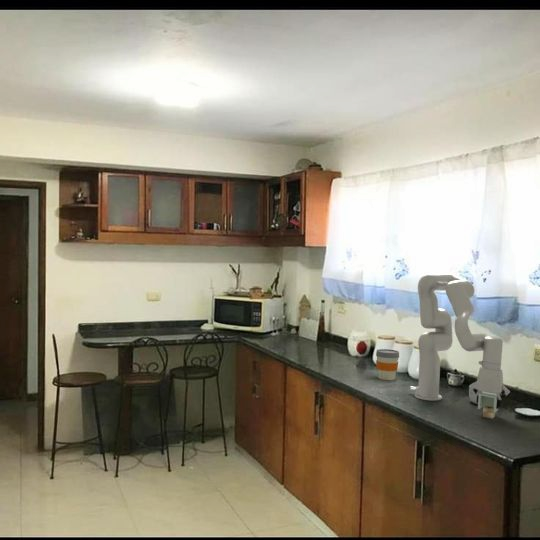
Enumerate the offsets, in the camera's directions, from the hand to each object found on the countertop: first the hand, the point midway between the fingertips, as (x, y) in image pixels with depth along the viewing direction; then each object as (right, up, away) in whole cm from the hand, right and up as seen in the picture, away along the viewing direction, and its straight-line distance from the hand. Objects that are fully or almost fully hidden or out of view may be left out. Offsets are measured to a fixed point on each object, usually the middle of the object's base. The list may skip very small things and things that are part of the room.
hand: (488, 406), depth 248 cm
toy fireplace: (0, -1, 0) cm, 1 cm away
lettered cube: (0, -4, -1) cm, 4 cm away
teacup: (+5, -4, +19) cm, 20 cm away
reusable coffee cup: (-30, -1, +68) cm, 74 cm away
